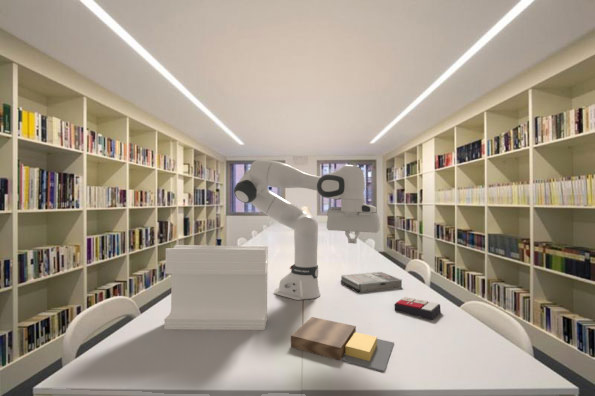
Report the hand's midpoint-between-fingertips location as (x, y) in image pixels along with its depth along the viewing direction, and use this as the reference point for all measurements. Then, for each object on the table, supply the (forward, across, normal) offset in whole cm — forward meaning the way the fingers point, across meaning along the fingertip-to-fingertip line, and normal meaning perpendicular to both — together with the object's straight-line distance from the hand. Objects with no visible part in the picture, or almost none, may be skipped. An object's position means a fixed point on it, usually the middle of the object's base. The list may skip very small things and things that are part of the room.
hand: (352, 243), depth 108 cm
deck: (+29, -3, -21) cm, 36 cm away
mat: (+29, +11, -20) cm, 37 cm away
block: (+29, -42, -27) cm, 58 cm away
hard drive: (+30, -4, +50) cm, 58 cm away
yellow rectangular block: (+29, +9, -21) cm, 37 cm away
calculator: (+30, +22, +21) cm, 42 cm away
